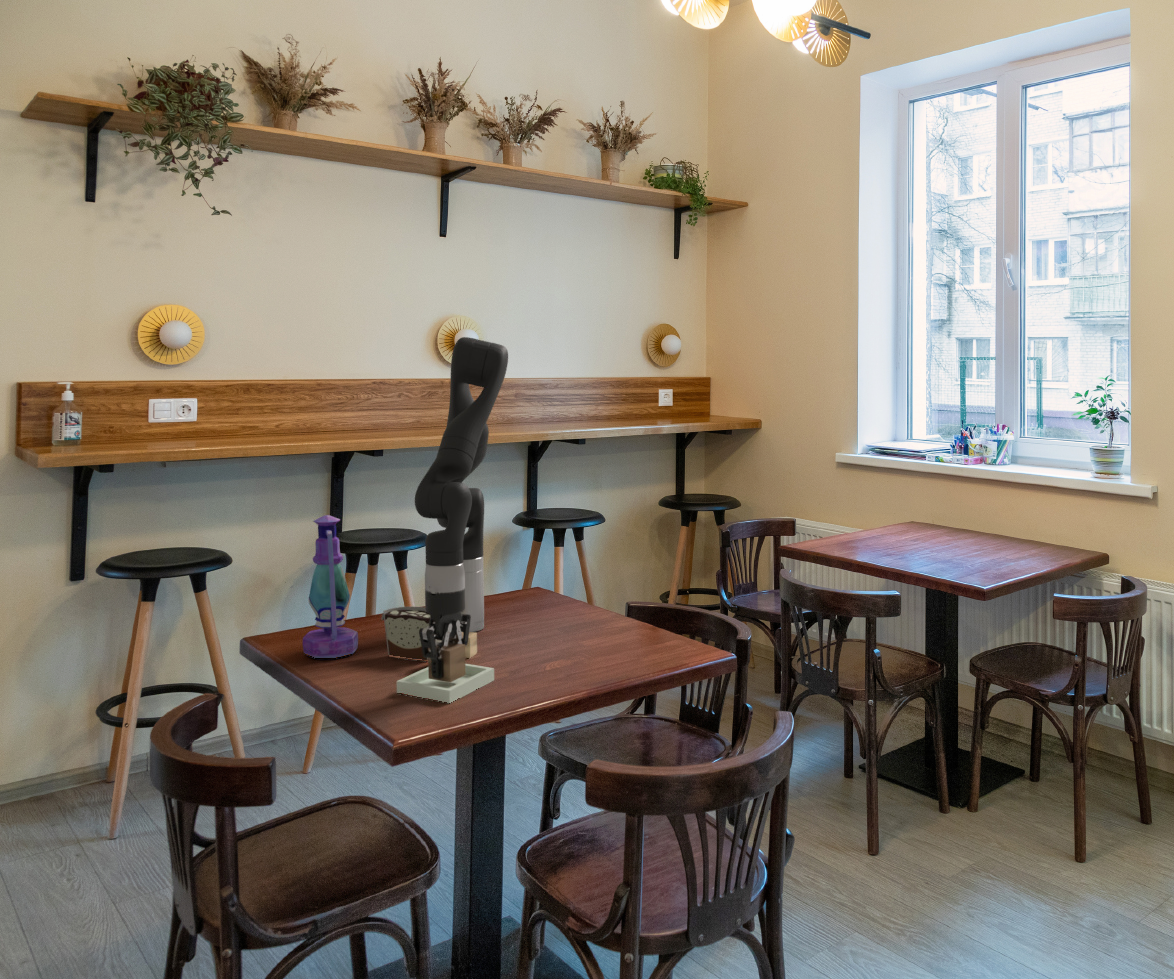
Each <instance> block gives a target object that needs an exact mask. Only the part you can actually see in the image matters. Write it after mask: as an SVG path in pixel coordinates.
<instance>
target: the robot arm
mask: <svg viewBox="0 0 1174 979" xmlns="http://www.w3.org/2000/svg"><path fill="white" fill-rule="evenodd" d="M452 350H453V351H452V354H451V360H450V362H451V363H450V387H449V390H450V391H449V406H448V408H449V409H448V414H447V421H446V422H447V423H446V426H445V427H446V428H445V430H444V432H443V434H442V437H441V441H440V443H439V448H438V451H437V454H436V457H435V459H434V461H433V462H432V464H431V465H430V467H429V468H428V470H427V471H426V473H425V475H424V476H423V478H422V479H421V481H420V483H419V484H418V486H417V489H416V492H415V493H414V507H415V510H416V512H417V513H418V514H419V516H421V517H422V518H426V519H434V520H437V523H438V525H440V526H441V527H442V528H445V529H442V530H436V531H432V532H429V533H428V534H427V535H426V537H425V543H424V544H425V568H424V569H425V571H424V601H425V602H424V605H425V606H424V607H425V610H426V611H427V612H428V613H429V614H430V621H429V626H428V627H426V628H425V629H424V628H420V630H419V636H420V641H421V647H422V652H423V657H425V658H430V659H431V670H432V676H433V678H438V679H441V678H443V677H444V669H443V659H442V658H443V655H444V649H445V648H446V647H447V645H448V643H450V642H451V643H456V644H464V645H467V644H468V637H469V632H474V633H476V632H478V631H481V630H483V629H485V585H484V584H485V583H484V582H485V579H484V575H485V574H484V526H485V525H484V524H485V522H484V520H485V497H484V494H483V491H482V490H481V488H479V487H478V488H477V487H468V485H466V484H465V483H464V480H466V479H467V477H469V476H470V475H471V474H472V473H473V472H475V470H477V469H478V467H479V466H480V465H481V463H482V462H483V461H484V458H485V457H486V454H487V449H488V448H487V447H488V443H489V442H488V441H489V433H490V432H489V426H488V423H487V422H488V420H489V418H490V415H491V413H492V410H493V408H494V406H495V403H496V401H497V398H498V396H499V393H500V391H501V388H502V386H503V382H504V379H505V377H506V373H507V369H508V363H509V351H508V349H507V347H506V346H504V345H502V344H499V343H496V342H490V341H487V340H482V339H477V338H473V337H467V336H466V337H465V336H463V337H460V338H459V339H457V341H456V342H455V344H454V347H453V349H452ZM469 385H472V386H474V387H475V386H476V387H480V388H482V390H481V392H480V393H479V395H478V397H477V398H476V399H475V400H474V397H473V396H472V393H471V389H470V386H469ZM466 529H467V531H466ZM461 632H463V633H464V634H463V638H462V633H461ZM436 639H437V640H441V641H442V642H436ZM437 646H439V651H438V653H437V649H436V647H437ZM428 648H430V651H428Z"/></svg>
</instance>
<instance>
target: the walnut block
mask: <svg viewBox="0 0 1174 979" xmlns="http://www.w3.org/2000/svg"><path fill="white" fill-rule="evenodd" d="M436 649H437V653H438V651H439V646H437V647H436ZM428 651H430V648H428ZM442 659H443V669H444V677H443V678H441V679H438V678H433V676H432V670H431V659H430V658H428V662H427V663H428V666H427V667H428V670H429V679H434V680H440V681H445V682H452V681H454V680H456V679H458V678H460V677H462V676H464V675H465V664H466V658H465V645H464V644H456V643H451V642H450V643H448V645H447V647H446V648H445V649H444V655H443V658H442Z"/></svg>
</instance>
